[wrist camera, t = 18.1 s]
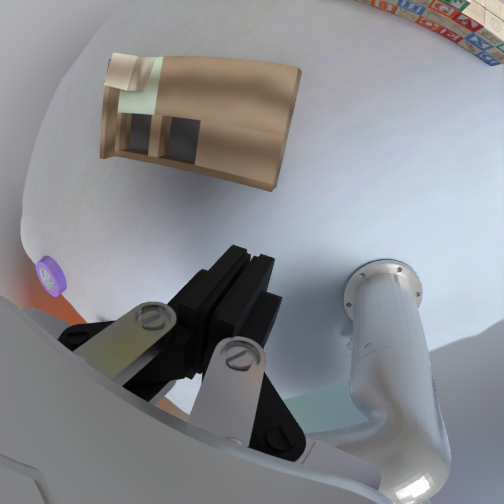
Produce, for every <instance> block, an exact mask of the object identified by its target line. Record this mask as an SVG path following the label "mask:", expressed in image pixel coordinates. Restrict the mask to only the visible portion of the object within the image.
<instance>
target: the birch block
mask: <svg viewBox="0 0 504 504" xmlns="http://www.w3.org/2000/svg"><path fill="white" fill-rule="evenodd" d="M154 62H155V59H152V58H146V57H140V56H134V55H127V54H119V53H113V55H112V58H111V61H110V64H109V68H108V71H107V75H106V78H105V82H104V85H106V86H110V87H114V88H118V89H122V90H126V91H145V89H146V86H147V83H148V80H149V77H150V74H151V71H152V68H153V65H154Z"/></svg>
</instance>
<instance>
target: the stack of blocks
mask: <svg viewBox="0 0 504 504" xmlns="http://www.w3.org/2000/svg"><path fill="white" fill-rule="evenodd" d="M356 1H359V2H362V3H365V4H369V5H371V6H373V7H376V8H379V9H382V10H385V11H387V12H390V13H392V14H395V15H397V16H400V17H402V18H405V19H407V20H409V21H412V22H414V23H418V24H420V25H422V26H424V27H426V28H428V29H430V30H432V31H434V32H437V33H439V34H441V35H443V36H445V37H446V38H448V39H450V40H452V41H454V42H456V43H457V44H458V45H459V46H461V47H463V48H464V49H466V50H468V51H469V52H471V53H472V54H474V55H476V56H477V57H479V58H480V59H482V60H483V61H485V62H486V63H488V64H489V65H491V66H495V65H499V64H504V4H503V3H502V2H501V1H499V0H356Z"/></svg>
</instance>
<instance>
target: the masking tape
mask: <svg viewBox="0 0 504 504" xmlns="http://www.w3.org/2000/svg"><path fill="white" fill-rule="evenodd" d="M36 271H37V275H38V277H39V279H40V281H41V283H42V285H43V286H44V288H45V289H46V290H47V291H48V293H50V294H51V295H52V296H54V297H57V296H58V295H59V294H61V293H62V292H63V291H65V290H66V286H67V285H66V280H65V277H64V274H63V272H62V270H61V268H60V267H59V265H58V264H57V263H56V261H55V260H54V259H53V258H51V257H49V256H46V257H44V258H43V259H41V260H40V261H39V262H37V264H36Z"/></svg>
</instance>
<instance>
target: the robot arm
mask: <svg viewBox="0 0 504 504" xmlns="http://www.w3.org/2000/svg"><path fill="white" fill-rule="evenodd" d="M250 258H251V254H248V253H247V249H245V248H242V247H239V246H235V245H232V246H231V247H230V248H229V249H228V250H227V251H226V252H225V253H224V254H223V255H222V256H221V258H220V259H219V260H218V261H217V262H216V263H215V264H214V265H213V266H212V267H211V268H210V269H209V270H208V271H207V270H204V269H201V270H200V271H199V272H198V273H197V274H196V275H195V276H194V277H193V278H192V279H191V280H190V281H189V282H188V283H187V284H186V285H185V286H184V287H183V288H182V289H181V290H180V291H179V292H178V293H177V294H176V295H175V296H174V298H173V299H172V300H171V301H170V302H169V303H168V304H167V305H166V304H164V303H160V302H146V303H142V304H140V305H138V306H136V307H135V308H133V309H132V310H131V311H129V312H128V313H126V314H125V315H123V316H122V317H121V318H119V319H118V320H116V321H107V322H98V323H87V324H78V325H73V326H70V323H68V322H66V321H63V320H61V319H59V318H56V317H54V316H52V315H50V314H47V313H45V312H43V311H40V310H38V309H36V308H32V307H30V308H25V309H23V310H22V309H20V308H19V307H18V306H17V305H16V304H14V303H13V302H11V301H10V300H8V299H6V298H4V297H2V296H0V504H432V503H431V502H430V501H429V500H428V499H429V498H430V497H432V496H433V495H434V494H436V493H437V492H438V491H439V490H440V489H441V488H442V486H443V485H444V484H445V482H446V480H447V478H448V475H449V472H450V467H451V452H450V446H449V441H448V437H447V433H446V430H445V426H444V422H443V419H442V415H441V411H440V407H439V403H438V399H437V395H436V389H435V383H434V379H433V373H432V368H431V363H430V358H429V353H428V348H427V344H426V339H425V335H424V331H423V327H422V323H421V319H420V315H419V311H418V308H419V306H420V304H421V300H422V285H421V282H420V280H419V278H418V276H417V274H416V273H415V272H414V271H413V269H412V268H410V267H409V266H407V265H406V264H404V263H401V262H399V261H394V260H380V261H375V262H372V263H369V264H367V265H365V266H363V267H361V268H360V269H359V270H357V271H356V272H355V273H354V274H353V275H352V276H351V278H350V279H349V281H348V282H347V284H346V287H345V290H344V308H345V311H346V313H347V315H348V316H349V317H350V319H351V320H352V321H353V336H352V337H351V339H350V341H349V342H348V344H347V346H348V348H349V349H350V350H352V355H351V370H350V383H349V390H350V396H351V399H352V401H353V403H354V405H355V406H356V408H357V409H358V410H359V411H360V412H361V413H362V414H363V415H364V416H365V417H366V418H367V419H368V421H367V422H364V423H361V424H357V425H353V426H349V427H344V428H338V429H331V430H324V431H316V432H310V433H303V431H302V429H301V427H300V426H299V425H298V423H297V422H296V420H295V419H294V417H293V416H292V414H291V413H290V411H289V410H288V408H287V407H286V405H285V403H284V402H283V400H282V399H281V397H280V396H279V394H278V393H277V391H276V390H275V388H274V386H273V385H272V383H271V382H270V380H269V378H268V377H267V375H266V374H265V372H264V369H265V364H266V354H265V352H264V350H263V349H264V346H265V344H266V342H267V339H268V337H269V335H270V332H271V330H272V327H273V324H274V322H275V319H276V316H277V313H278V310H279V307H280V304H281V301H282V297H280V296H277V295H274V294H271V293H269V292H267V288H268V284H269V281H270V277H271V273H272V269H273V265H274V261H275V258H272V257H269V256H266V255H263V254H260V256H259V257H257V256H254V257H253V258H252V259H251V261H250ZM398 267H400V268H398ZM361 273H364V274H361ZM202 372H203V373H202ZM196 373H198V374H201V373H202V384H201V387H200V390H199V392H198V395H197V397H196V400H195V403H194V405H193V408H192V411H191V413H190V416H189V419H188V421H187V422H185V421H183V420H181V419H179V418H176V417H175V416H173V415H171V414H169V413H167V412H165V411H163V410H161V409H159V408H158V407H156V406H155V405H156V404H157V403H158V402H159V401H160V400H161V399H162V398H163V397H164V396H165V395H166V394H167V393H168V392H169V391H170V390H171V388H172V387H173V386H174V385H175V383H176V381H177V380H178V379H183V378H185V377H187V378H189V379H191V380H192V379H193V377H194V376H195V374H196Z"/></svg>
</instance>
